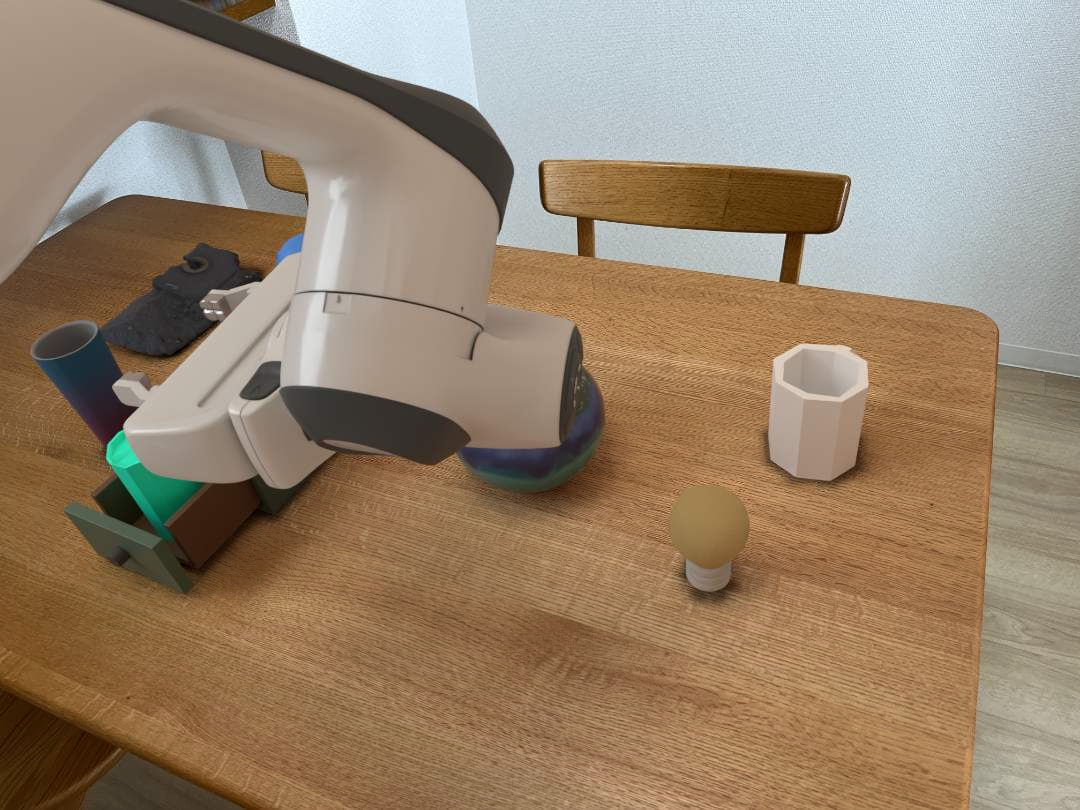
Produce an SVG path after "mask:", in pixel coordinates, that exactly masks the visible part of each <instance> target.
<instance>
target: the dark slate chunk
mask: <svg viewBox="0 0 1080 810" xmlns="http://www.w3.org/2000/svg"><path fill="white" fill-rule="evenodd" d="M239 258H240V257H239V254H238V253H236V252H234V251H231V250H229V249H224V248H219V247H214V246H212V245H210V244H208V243H205V242H199V243H198V244H196V246H195V248H193V249H191V251H190V252H188V254H185V255H183V256H182V261H186V262H182V263H180V264H178V265H171V266H169V267H168V268H167V270H166V271H165V272H164V273H162V274H158V275H156V277H154V278H153V279H152V281H151V286H152V289H151V290H150V291H149V292H148V293H147V294H143V295H141V296H139V297H138V298H135V299H134V300H133V301H132V302H131V303H130V304H129V305H128V306H127V307H126V308H124V309H122V310H121V312H119V314H117V316H115V317H114V318H111V319H109V320H108V321H107V322H105V324H103V325H102V326H101V327H99V330H100V331H101V333H102V335H103V337H104V339H105V341H106V343H109V344H112V345H114V346H116V347H121V348H125V349H126V348H127V349H129V350H131V351H133V352H135V353H139V354H140V353H141V354H145V355H149V356H151V357H156V356H158V357H163V356H172V355H174V354H175V353H177V351H179V350H181V349H183V348H184V347H186V346H188V345H190V344H191V342H193V341H195V340H196V339H197V338H198V337H199V336H201V335H202V334H203V333H204V332H205V331H207V330H209V329H210V328H211V327H212V326H213V324H215V323H216V322H218V320H215V321H212V320H209V319H208V318H207V317H206V316H205V314H204V309H202V308H201V307H200V303H199V302H200V301H201V300H202V299H203V298H204V297H205V296H206V295H207V294H208V293H209V292H210V291H211V290H228V291H229V290H230V289H233V288H237V287H240V286H243V285H247V284H250V283H253V282H261V275H259V274H260V271H259V270H253V269H250V270H249V269H241V267H240V264H241V262H240V261H241V260H240V259H239Z"/></svg>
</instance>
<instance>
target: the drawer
mask: <svg viewBox="0 0 1080 810" xmlns="http://www.w3.org/2000/svg"><path fill="white" fill-rule="evenodd" d="M203 483H204V485H203V486H202V487H201V488H200V489H199V490H198V491H197V492H196V493H195V494H194V495H193V496H192V497H191V498H190V499H189V500H188V501H187V502H186V503H185V504H184V505H183V506H182V507H181V508H180V509H179V510H178V511H177V512H176V513H175V514H174V515H173V516H172V517H170V518H169V519H168V520H167V521H166V522H165V523H164V526H165V527H166V529H167V530H168V531H169V533H170V534H171V536H172V537H173V539H174V540H175V541H170V540H165V539H162V538H161V537H160V535H159V534H158V533H157V531H156V530H155V528H154V527H153V525H152V524H151V523H150V521H149V520H148V518H147V517H146V515H145V514H144V513H143V511H142V510H141V508H140V507H139V505H138V504H137V502H136V501H135V500H134V498H133V497H132V495H131V494H130V492H129V491H128V490H127V488H126V487H125V485H124V484H123V482H122V481H121V480H120V478H119V477H118V475H117V474H116V472H115V471H114V473H112V475H110V476H109V477H108V478H107V479H106V480H105V481H103V482H102V483H101V484H100V485H99V486H98V487H96V489H94V490H93V491H92V492H90V494H89V495H90V497H91V498H92V500H94V502H95V503H96V505H97V506H98V507H99V509H100V510H101V511H102V512H100V511H98V510H96V509H92V508H90V507H88V506H86V505H83V504H81V503H79V502H77V501H74V500H72V501H71V502H69V504H67V505H65V507H64V508H62V511H63V513H64V514H65V515H66V516H67V518H68V519H69V520H70V521H71V523H72V524H73V525H74V526H75V528H76V529H77V530H78V532H79V533H80V534H81V536H83V538H84V539H85V540H86V542H87V543H88V544H89V546H90V547H91V548H92V549H93V550H94V552H95V553H96V554H97V556H99V557H102V558H104V559H106V560H107V561H109V562H110V564H112V565H113V566H115V567H117V568H122V567H124V568H126V569H128V570H130V571H133V572H135V573H137V574H139V575H140V576H141V575H142V576H143V577H146V578H148V579H150V580H152V581H155V582H157V583H159V584H161V585H163V586H165V587H168V588H169V589H172V590H174V591H176V592H179V593H181V594H183V595H186V594H187V593H189V591H190V590H191V589H192V588H193V587H194V586H195V583H194V582H193V580H192V579H191V577H190V576H189V574H188V573H187V572H186V570H185V569H184V568H183V566H182V564H184V565H187V566H189V567H191V568H193V569H196V570H200V569H201V567H202V566H203V565H204V564H206V562H207V561H208V560H209V559H210V558H211V557H212V556H213V555H214V554H215V553H216V552H217V550H219V548H220V547H221V546H222V545H224V544H225V542H226V541H227V540H228V539H229V538H230V537H231V536H232V535H233V534H234V533H235V532H236V531H237V529H238V528H240V526H241V525H242V524H243V523H244V522H245V521H246V520H247V519H248V518H250V517H249V516H250V515H252V514H253V512H255V510H256V509H257V507H258V506H259V505H260V504H261V503H262V502H263V501H262V499H261V497H260V496H259V494H258V492H257V490H256V488H255V486H254V484H253V483H252V481H251V479H247V480H244V481H241V482H236V483H206V482H203ZM181 563H182V564H181Z"/></svg>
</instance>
